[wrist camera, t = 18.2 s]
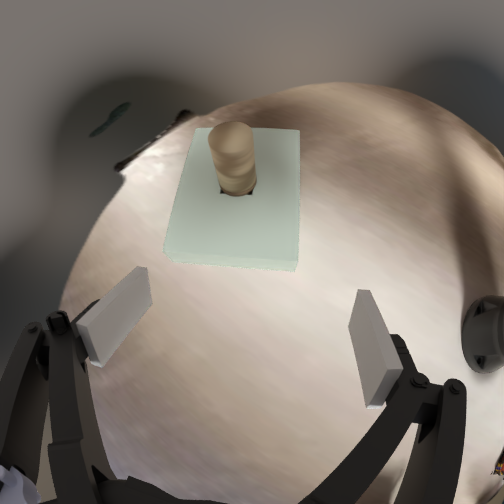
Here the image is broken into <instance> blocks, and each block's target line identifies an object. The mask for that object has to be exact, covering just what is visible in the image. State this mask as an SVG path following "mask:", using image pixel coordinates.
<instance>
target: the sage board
mask: <svg viewBox="0 0 504 504" xmlns="http://www.w3.org/2000/svg"><path fill="white" fill-rule="evenodd" d="M212 129H213V128H196V130H195V133H194V136H193V139H192V142H191V146H190V149H189V152H188V155H187V158H186V162H185V165H184V168H183V172H182V175H181V179H180V182H179V186H178V190H177V193H176V197H175V201H174V205H173V209H172V212H171V216H170V221H169V225H168V229H167V233H166V237H165V242H164V246H163V253H164V254H165V255H166V256H167V257H168V258H169V259H170V260H171V261H172V262H176V263H188V264H199V265H211V266H223V267H236V268H249V269H262V270H276V271H290V272H295V270H296V266H297V263H298V252H299V217H300V131H299V130H291V129H274V128H251V130H252V132H253V141H254V154H255V168H256V178H257V182H256V186H255V188H254V189H253V195H244V196H239V197H233V196H229V195H227V194H225V193H224V192H223V191H222V190H221V188H220V185H219V181H218V177H217V173H216V169H215V166H214V162H213V158H212V155H211V151H210V147H209V143H208V135H209V133H210V131H211V130H212Z"/></svg>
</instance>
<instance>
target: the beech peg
mask: <svg viewBox="0 0 504 504" xmlns="http://www.w3.org/2000/svg"><path fill="white" fill-rule="evenodd" d="M208 143H209V147H210V151H211V155H212V158H213V162H214V166H215V169H216V173H217V177H218V181H219V185H220V188H221V190H222V191H223V192H224V193H225V194H227V195H229V196H233V197H239V196H244V195H251V193H252V190H253V189H254V188H255V186H256V182H257V178H256V168H255V154H254V141H253V132H252V130H251V128H250V127H249V126H248V125H246V124H244V123H242V122H236V121H231V122H225V123H222V124H219V125H217V126H216V127H214V128H213V129H212V130H211V131H210V133H209V135H208Z"/></svg>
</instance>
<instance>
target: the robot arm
mask: <svg viewBox="0 0 504 504" xmlns="http://www.w3.org/2000/svg"><path fill="white" fill-rule="evenodd" d="M151 305H152V298H151V292H150V285H149V278H148V270H147V268H145V267H138V266H137V267H136V268H135V269H134V270H133V271H132V272H130V273H129V274H128V275H127V276H126V277H125V278H124V279H123V280H121V281H120V282H119V283H118V284H117V285H116V286H115V287H114V288H113V289H111V290H110V291H109V292H108V293H107V294H106V295H105V296H104V297H103V298H102V299H101V300H100V299H98V300H96V301H94V302H92V303H91V304H90V305H89V306H88V307H87V308H86V309H84V310H83V311H82V313H80V314H79V315H78V316H77V317H76V318H75V319H74V320H73V321H72V322H71V323H70V321H69V319H68V316H67V313H66V312H65V311H55V312H52V313H51V314H49V315H48V316H47V317H46V322H47V325H48V327H49V330H43V327H42V325H41V323H39V322H32V323H29V324H28V325H27V326H25V328H24V329H23V331H22V333H21V335H20V338H19V339H18V341H17V344H16V346H15V348H14V350H13V352H12V354H11V357H10V359H9V361H8V364H7V366H6V369H5V371H4V374H3V376H2V378H1V381H0V504H37V503H39V502H40V501H41V496H40V494H39V493H38V492H37V489H36V483H37V478H38V472H39V464H40V453H41V444H42V436H43V429H44V423H45V417H46V411H47V406H48V402H49V404H50V405H49V406H50V419H51V430H52V438H53V442H52V444H48V457H49V462H50V468H51V474H52V479H53V483H54V487H55V491H56V495H57V498H56V499H53V500H50V501H46V502H43V503H39V504H227V503H221V502H216V501H211V500H183V499H178V498H175V497H174V496H172V495H170V494H168V493H166V492H165V491H163V490H161V489H159V488H158V487H156V486H154V485H152V484H150V483H147V482H144V481H141V480H139V479H136V478H134V477H131V476H128V478H127V480H121V479H117V478H116V476H115V475H114V473H113V471H112V470H111V468H110V465H109V462H108V459H107V456H106V453H105V450H104V446H103V443H102V439H101V435H100V431H99V427H98V423H97V419H96V415H95V410H94V405H93V400H92V395H91V389H90V383H89V377H88V370H87V364H86V362H85V359H86V358H87V357H88V356H89V359H90V361H91V363H92V364H93V365H96V366H99V367H101V368H103V367H104V365H105V364H106V363H107V361H108V360H109V359H110V357H111V356H112V355H113V353H114V352H115V351H116V349H117V348H118V347H119V345H120V344H121V343H122V342H123V340H124V339H125V338H126V336H127V335H128V334H129V333H130V331H131V330H132V329H133V327H134V326H135V325H136V324H137V322H138V321H139V320H140V319H141V317H142V316H143V315H144V314H145V312H146V311H147V310H148V309H149V307H150V306H151ZM348 328H349V332H350V336H351V340H352V344H353V348H354V352H355V357H356V361H357V366H358V370H359V375H360V380H361V384H362V389H363V394H364V400H365V405H366V409H375V408H381V407H382V405H383V404H384V402H385V401H386V405H387V406H386V407H385V409H384V410H383V412H382V413H381V415H380V416H379V417H378V419H377V420H376V421H375V423H374V424H373V425H372V427H371V428H370V429H369V430H368V432H367V433H366V434H365V436H364V437H363V438H362V439H361V440H360V442H359V443H358V444H357V445H356V446H355V448H354V449H353V450H352V451H351V452H350V453H349V455H348V456H347V457H346V458H345V459H344V460H343V461H342V462H341V463H340V465H339V466H338V467H337V468H336V469H335V470H334V471H333V472H332V473H331V474H330V475H329V476H328V477H327V478H326V479H325V480H324V481H323V482H322V483H321V484H320V485H319V486H318V487H317V488H316V489H315V490H313V491H312V492H311V493H310V494H309V495H308V496H306V497H305V498H304V499H303V500H302V501H300V502H299V503H298V504H354V503H355V502H356V501H357V500H358V499H359V498H360V496H361V495H362V494H363V493H364V492H365V490H366V489H367V488H368V487H369V485H370V484H371V483H372V482H373V480H374V479H375V478H376V476H377V475H378V474H379V472H380V471H381V470H382V468H383V467H384V466H385V464H386V463H387V461H388V460H389V458H390V457H391V455H392V454H393V452H394V451H395V449H396V448H397V446H398V445H399V443H400V442H401V440H402V438H403V437H404V435H405V433H406V432H407V430H408V428H409V426H410V425H411V423H418V424H419V425H418V429H417V433H416V437H415V441H414V445H413V449H412V452H411V456H410V459H409V463H408V466H407V469H406V472H405V475H404V478H403V481H402V484H401V486H400V489H399V492H398V494H397V497H396V499H395V502H394V504H453V500H454V497H455V492H456V488H457V484H458V479H459V473H460V468H461V462H462V455H463V447H464V438H465V426H466V401H467V391H466V387H465V385H464V384H463V383H462V382H461V381H460V380H457V379H448V380H447V381H446V382H445V383H444V385H437V384H432V383H430V382H429V379H428V378H427V377H426V376H425V375H424V374H422V373H419V372H418V371H417V369H416V367H415V364H414V362H413V360H412V357H411V355H410V354H409V350H408V349H407V346H406V344H405V342H404V340H403V339H402V338H401V337H400V336H399V335H398V334H389V332H388V329H387V327H386V325H385V322H384V320H383V318H382V316H381V313H380V311H379V309H378V307H377V305H376V302H375V300H374V298H373V296H372V294H371V292H370V290H360V289H358V292H357V296H356V300H355V303H354V307H353V311H352V315H351V318H350V322H349V325H348ZM462 347H463V353H464V356H465V359H466V361H467V363H468V365H469V366H470V368H471V369H473V370H474V371H475V372H478V373H490V372H493V371H495V370H497V369H499V368H501V367H502V366H504V297H503V296H494V295H489V296H485V297H483V298H480V299H478V300H476V301H475V302H474V303H473V304H472V305H471V307H470V308H469V310H468V312H467V314H466V317H465V320H464V324H463V330H462Z"/></svg>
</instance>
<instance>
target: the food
mask: <svg viewBox="0 0 504 504" xmlns="http://www.w3.org/2000/svg"><path fill="white" fill-rule="evenodd" d="M492 472H493V471H492ZM491 474H492V473H491ZM494 474H498V475H499V476H500V475H504V452H503V454H502V456H501V458H500V460H499V462H498V464H497V466H496V468H495V471H494V473H493V475H494ZM503 480H504V478H503Z"/></svg>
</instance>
